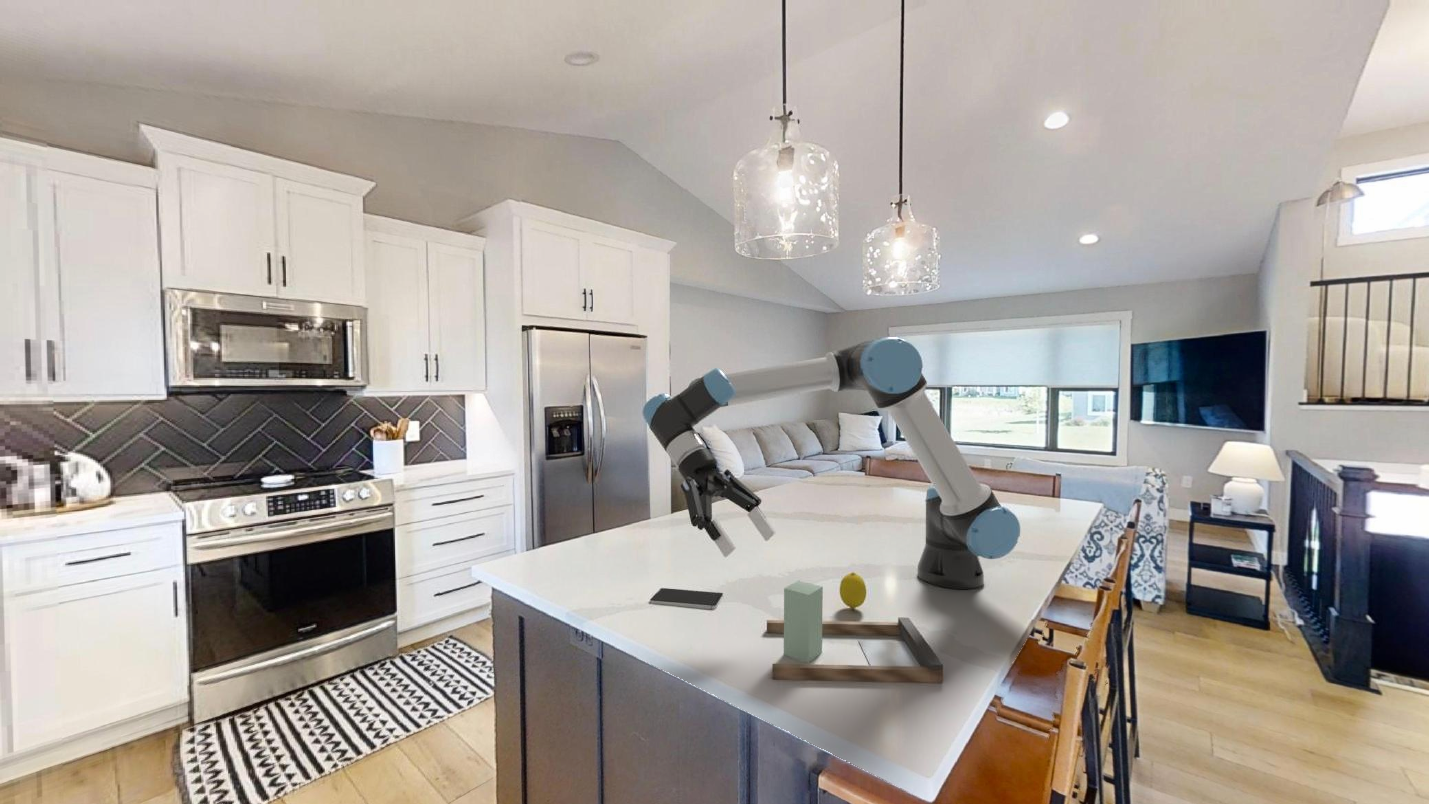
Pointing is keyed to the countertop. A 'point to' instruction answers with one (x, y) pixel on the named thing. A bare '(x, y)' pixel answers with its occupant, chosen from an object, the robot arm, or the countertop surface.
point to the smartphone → (687, 598)
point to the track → (871, 655)
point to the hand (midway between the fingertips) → (751, 544)
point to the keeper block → (803, 621)
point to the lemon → (853, 590)
